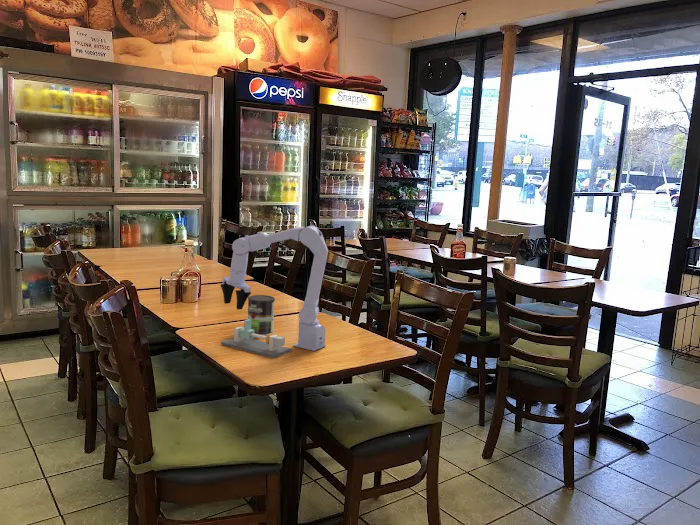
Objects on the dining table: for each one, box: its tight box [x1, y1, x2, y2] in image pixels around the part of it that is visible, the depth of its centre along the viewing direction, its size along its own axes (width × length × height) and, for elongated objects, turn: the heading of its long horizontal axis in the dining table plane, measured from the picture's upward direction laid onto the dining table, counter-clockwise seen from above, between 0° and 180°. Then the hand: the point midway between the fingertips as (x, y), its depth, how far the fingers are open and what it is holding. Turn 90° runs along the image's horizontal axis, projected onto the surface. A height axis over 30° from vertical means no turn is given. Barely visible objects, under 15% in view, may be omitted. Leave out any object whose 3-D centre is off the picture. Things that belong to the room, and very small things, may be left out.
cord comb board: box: [220, 325, 292, 359], centre depth 199 cm, size 24×10×6 cm, turn 60°
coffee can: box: [247, 294, 276, 336], centre depth 218 cm, size 10×10×14 cm
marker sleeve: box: [240, 318, 255, 340], centre depth 201 cm, size 4×3×7 cm
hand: (233, 306), depth 205 cm, fingers open, 7 cm apart
